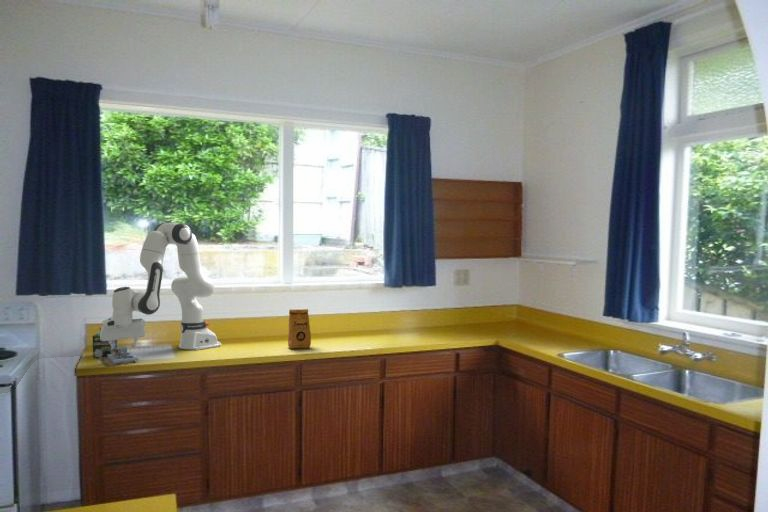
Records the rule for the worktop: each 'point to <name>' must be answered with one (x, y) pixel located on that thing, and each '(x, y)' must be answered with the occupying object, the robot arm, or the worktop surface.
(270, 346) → the worktop surface
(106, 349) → the chalk box
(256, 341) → the worktop surface
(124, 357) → the panel
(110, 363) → the board
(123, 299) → the robot arm
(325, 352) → the worktop surface
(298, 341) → the coffee package
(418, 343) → the worktop surface
